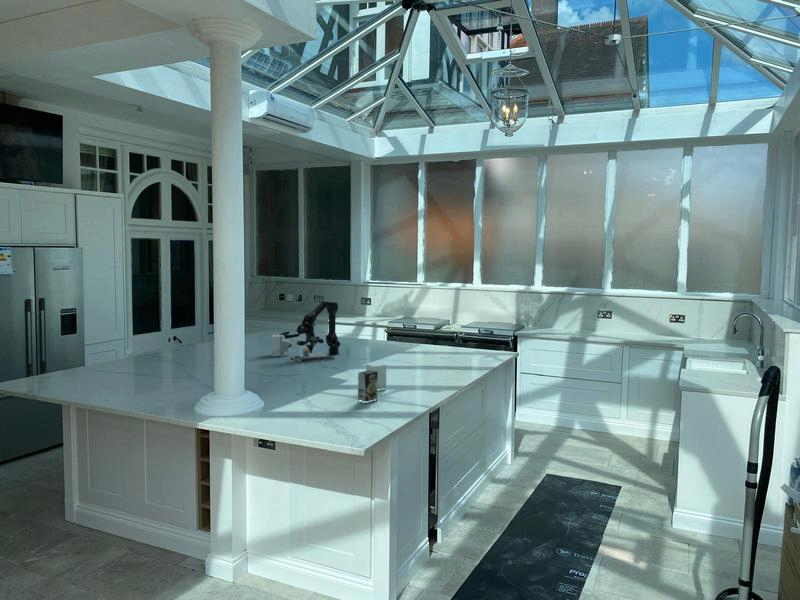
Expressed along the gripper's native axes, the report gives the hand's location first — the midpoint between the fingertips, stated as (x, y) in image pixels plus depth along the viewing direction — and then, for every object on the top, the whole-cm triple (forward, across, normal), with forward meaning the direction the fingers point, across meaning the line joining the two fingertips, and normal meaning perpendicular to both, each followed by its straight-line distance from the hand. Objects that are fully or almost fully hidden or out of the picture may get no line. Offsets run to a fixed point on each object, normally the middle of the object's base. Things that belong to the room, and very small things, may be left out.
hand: (310, 353), depth 457 cm
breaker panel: (+4, +1, 0) cm, 4 cm away
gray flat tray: (+3, +1, 0) cm, 3 cm away
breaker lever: (+3, -4, 0) cm, 5 cm away
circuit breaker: (+4, -14, +24) cm, 28 cm away
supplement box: (+5, -2, -105) cm, 105 cm away
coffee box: (+4, -18, -126) cm, 127 cm away
